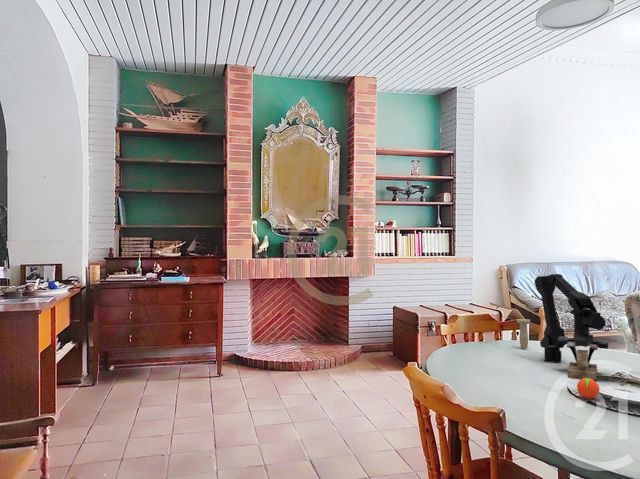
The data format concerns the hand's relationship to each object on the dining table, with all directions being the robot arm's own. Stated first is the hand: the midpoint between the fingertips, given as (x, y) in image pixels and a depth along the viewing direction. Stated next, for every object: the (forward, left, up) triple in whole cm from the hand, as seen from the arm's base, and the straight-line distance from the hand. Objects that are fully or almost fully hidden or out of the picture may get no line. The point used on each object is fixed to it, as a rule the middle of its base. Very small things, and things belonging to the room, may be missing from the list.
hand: (582, 362), depth 197 cm
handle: (-28, +35, -4) cm, 45 cm away
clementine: (+3, -36, -4) cm, 36 cm away
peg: (0, 0, -3) cm, 3 cm away
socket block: (0, -4, -4) cm, 5 cm away
